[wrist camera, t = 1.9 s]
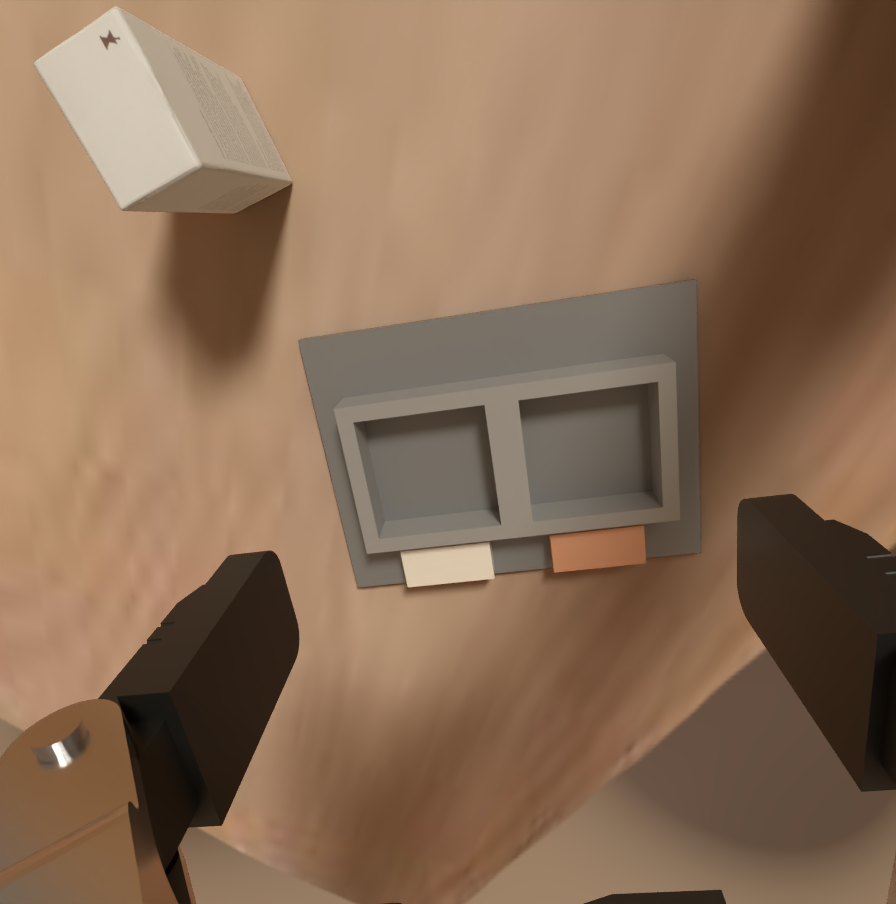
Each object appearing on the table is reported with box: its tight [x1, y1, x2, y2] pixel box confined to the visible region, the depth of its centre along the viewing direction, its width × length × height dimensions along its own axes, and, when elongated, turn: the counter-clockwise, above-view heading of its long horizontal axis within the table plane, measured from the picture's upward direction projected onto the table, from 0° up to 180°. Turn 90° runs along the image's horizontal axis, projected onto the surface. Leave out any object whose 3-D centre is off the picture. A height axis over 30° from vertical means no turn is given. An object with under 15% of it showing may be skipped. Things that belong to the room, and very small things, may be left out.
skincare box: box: [34, 6, 292, 214], centre depth 29 cm, size 6×4×12 cm
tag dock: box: [298, 279, 701, 588], centre depth 38 cm, size 24×18×3 cm
